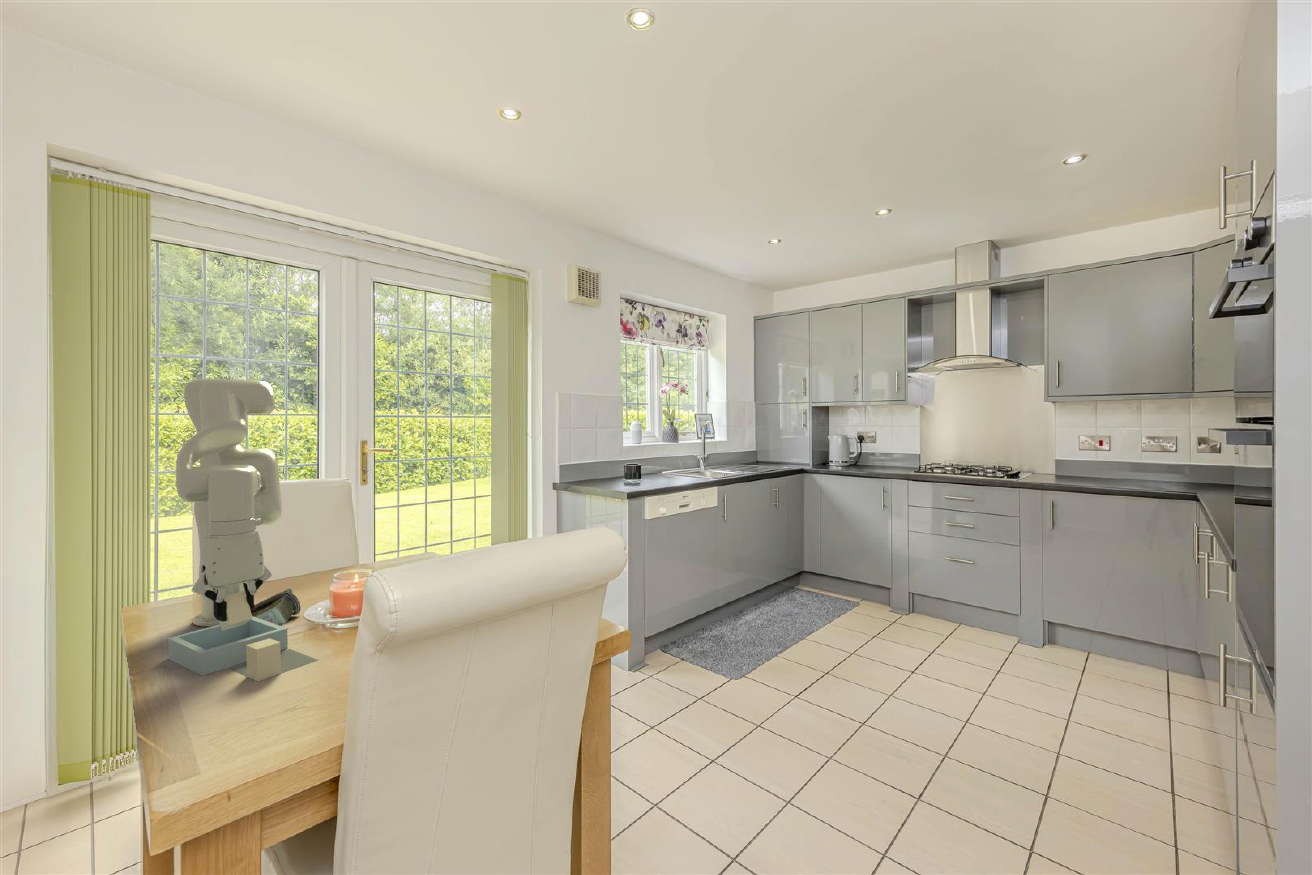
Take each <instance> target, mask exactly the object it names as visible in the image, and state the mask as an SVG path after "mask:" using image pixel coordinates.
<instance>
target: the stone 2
mask: <svg viewBox="0 0 1312 875" xmlns="http://www.w3.org/2000/svg"><path fill="white" fill-rule="evenodd" d="M280 652H281V650H280V642H278V641H275V640H273V639H270V638H269V639H265V640H262V641H259V642H255V643H252V644H249V645H246V654H247V661H246V663H247V678H248V677H249V679H251V680H253V681H254V682H257V681H258V682H261V681H264V680H266V678H267V679H269V677H270V678H273V677H275V676H278V675H281V674H282V673H281V655H280ZM280 673H281V674H280ZM277 674H278V675H277ZM263 679H264V680H263ZM260 680H261V681H260Z"/></svg>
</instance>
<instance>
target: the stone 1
mask: <svg viewBox="0 0 1312 875" xmlns="http://www.w3.org/2000/svg"><path fill="white" fill-rule="evenodd" d="M224 601H226V602H227V610H226V615H227V620H226V621H224V622H222V621H220V625H221V628H222V631H223V630H227V629H230V628H234V627H238V626H241V625H245V624H246V623H247V622H249V621H250V620H251V619H253V618H252V614H251V610H250V607H249V604H248V602H247V599H246V592H245V591H243V592H239V593H235V594H230V595H226V596H224Z"/></svg>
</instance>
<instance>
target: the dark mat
mask: <svg viewBox="0 0 1312 875" xmlns="http://www.w3.org/2000/svg"><path fill="white" fill-rule="evenodd" d="M280 655H281V673H280V674H277V675H276V676H278V675H281V674H283V673H287V672H290V671H292V670H294V669H297V668H301V667H304V666H306V665H309V664H311V663H314V662H317V661H318V659H317V658H314V657H312V656H308V655H306V654H304V653H301V652H299V651H297V650H294V649H290V648H286V649H283V650H280ZM228 668H229V670H231V671H234V672H236V673H238V674H240V675H242V676H244V677H247V662H243V663H240V664H237V665H234V666H231V667H228ZM247 678H249V677H247ZM269 678H271V677H269ZM269 678H266V679H269ZM249 679H250V678H249ZM266 679H263V680H260V681H256V682H261V681H264V680H266Z"/></svg>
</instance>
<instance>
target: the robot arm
mask: <svg viewBox="0 0 1312 875" xmlns="http://www.w3.org/2000/svg"><path fill="white" fill-rule="evenodd" d="M275 398H276V397H275V392H274V390H273V387H272V386H271V384H270V383H269V382H267V381H263V380H253V379H252V380H249V379H227V378H226V379H225V378H202V379H201V378H200V379H196V380H195V379H194V380H192V381H189V382H188V383H186V385H185V386H184V388H183V399H184V404H185V408H186V411H187V413H188V416H189V418H190V420H191V422H192V424H193V426H194V428H195V429H196V433H195V434H193V435H192V436H191V437H190V438H189V439H188V440H187V441H186V442H185V443H184V444H183V445H182V447H181V448H180V449H179V452H178V454H177V457H176V460H175V486H176V493H177V495H178V497H179V498H180V499H181V500H182V501H184V502H186V503H193V504H194V505H193V512H194V514H193V515H194V520H195V524H196V528H197V534H198V542H199V543H198V545H199V568H198V579H197V580H196V581H195V584H194V585H193V587H192V588H191V592H192V593H195V594H198V595H200V606H201V608H200V609H201V613H199V614H197V615H196V616H194V617H193V619H192V623H193V625H194V626H196V627H197V626H199V627H212V626H216V625H220V621H222V622H224V621H226V620H227V615H226V610H227V602H226V601H224V596H226V595H230V594H235V593H239V592H243V591H245V592H246V599H247V602H248V604H249V607H250V610H251V614H252V609H254V605H255V595H256V594H257V591H258V590H259V588H261V587H262V585H263V583H265V582H266V581H268V579H270V578H271V577H272V576H273V575H272V573H271V571H270V570H269V569H268V567H266V566H265V560H264V551H263V546H262V542H261V537H260V535H259V531H256V530H257V527H258V526H268V525H272V524H275V523H277V522H279V520H280V519H281V516H282V508H283V507H282V495H281V484H280V482H281V481H280V475H279V473H280V472H279V465H278V464H279V463H278V460H277V456H276V454H275V453H274V452H273V451H272V450H271V449H268V448H261V447H260V448H243V447H242V443H243V441H244V440H246V439H247V436H248V434H249V430H248V422H247V421H248V420H247V416H267V415H271V414H272V412H273V411H274V409H275V402H276V399H275ZM197 461H198V462H199V466H198V465H197V466H193V465H194V464H195V463H197Z"/></svg>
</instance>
